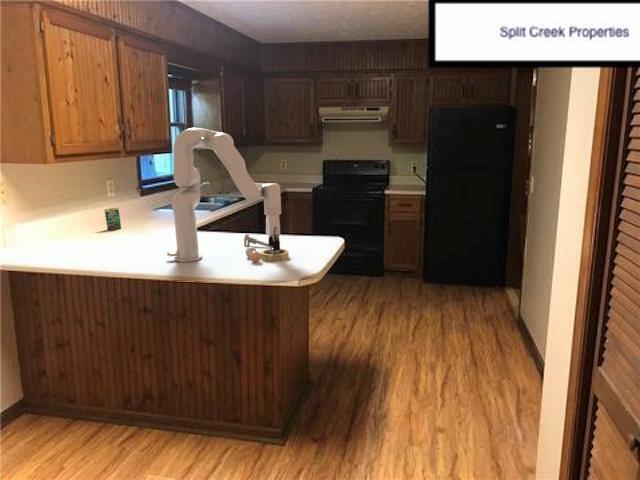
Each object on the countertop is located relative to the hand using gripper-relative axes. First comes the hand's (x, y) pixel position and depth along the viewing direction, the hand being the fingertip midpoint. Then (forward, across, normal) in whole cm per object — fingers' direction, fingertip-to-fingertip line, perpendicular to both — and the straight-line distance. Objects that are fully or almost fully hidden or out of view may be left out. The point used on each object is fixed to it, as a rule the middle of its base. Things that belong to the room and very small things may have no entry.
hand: (274, 247), depth 235 cm
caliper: (+5, -25, -2) cm, 26 cm away
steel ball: (+2, 0, 0) cm, 2 cm away
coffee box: (+5, -110, -79) cm, 135 cm away
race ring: (+5, 0, 0) cm, 5 cm away
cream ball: (+2, -6, -10) cm, 12 cm away
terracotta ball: (+2, +4, -10) cm, 11 cm away
